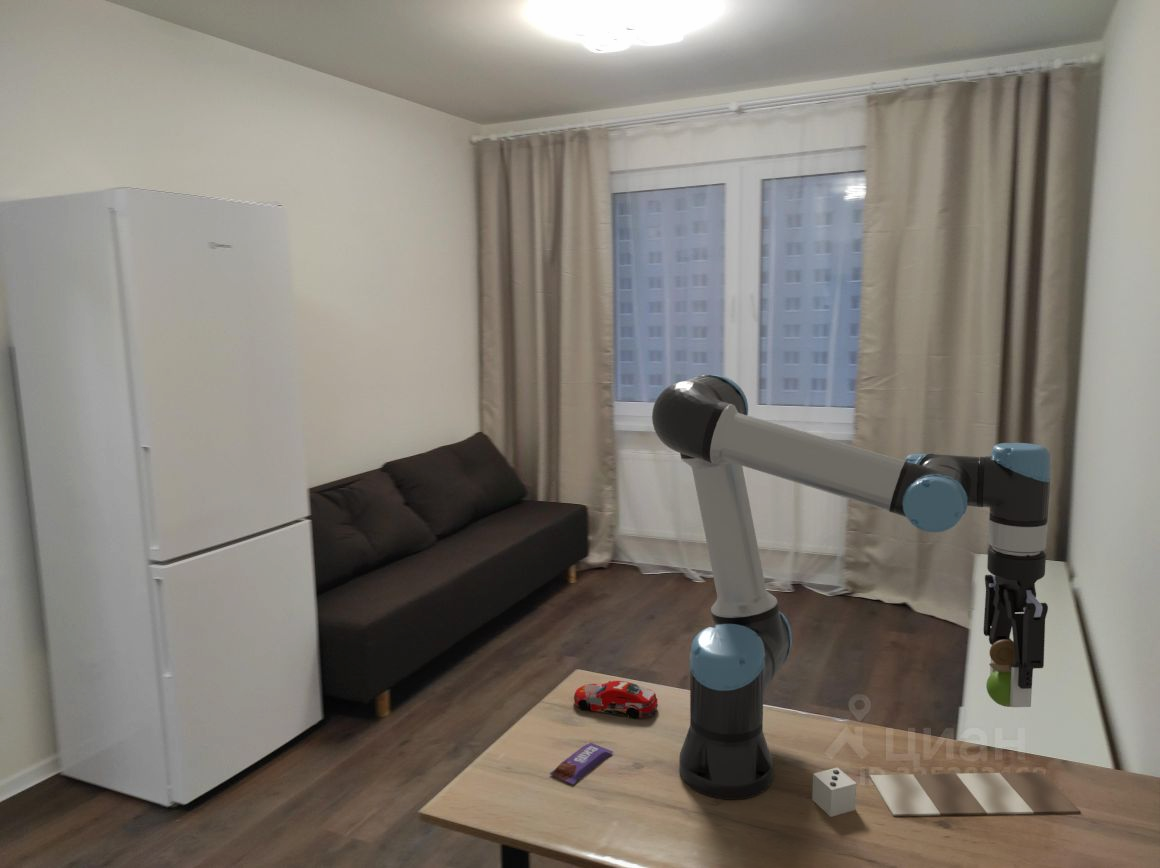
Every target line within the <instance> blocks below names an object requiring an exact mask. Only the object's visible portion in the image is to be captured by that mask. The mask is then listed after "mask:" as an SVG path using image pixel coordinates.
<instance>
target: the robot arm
mask: <svg viewBox="0 0 1160 868" xmlns="http://www.w3.org/2000/svg"><path fill="white" fill-rule="evenodd" d="M651 414H652V415H651V416H652V417H651V419H652V420H651V421H652V426H653V429H654V430H653V431H655V434H656V436H657V437H658V438H659V440H660V441H661V443H663V444H664V445H665V446H666V447H667V448H669V449H671V450H672V451H674V452H676V453H679V454H680V458H681V461H682V462H683V463H685V464H687V465H689V466H690V467H691V469H692V470H691V471H692V475H693V481H694V485H695V490H696V496H697V501H698V505H699V510H700V515H701V520H702V527H703V530H704V536H705V541H706V546H707V552H708V556H709V562H710V566H711V572H712V576H713V581H714V587H715V592H716V601H715V602H714V603H713V605H712V606H711V608H710V611H711V617H712V621H713V622H712V623H713V627H711V626H707V627H706V628H704V629H703V630H700V631H699V633H697V635H695V636H694V638H693V640H692V642H691V645H690V646H691V648H690V653H689V659H688V662H689V668H690V669H689V685H690V686H689V690H690V691H689V692H690V693H689V694H690V695H689V698H690V699H689V703H690V704H689V710H690V711H689V712H690V713H689V714H690V715H689V717H690V719H689V720H690V722H689V728H688V730H687V734H686V736H685V738H684V742H683V745H682V747H681V750H680V752H679V763H678V766H679V767H678V768H679V774H680V777H681V778H682V779H683V781H684V783H686V784H687V785H688V786H689V787H691V788H692V789H694V790H696V792H699V793H701V794H703V795H706V796H710V797H714V798H716V799H725V800H742V799H749V798H752V797H755V796H758V795H760V794H762V793H763V792H765V791H766V790H767V789H768V788H769V787H770V786H771V784H772V783H773V778H774V777H773V776H774V775H773V774H774V773H773V772H774V763H773V758H772V756H771V753H770V749H769V747H768V743H767V741H766V738H765V734H764V731H763V730H764V729H763V728H764V727H763V726H764V725H763V722H764V696H765V692H766V690H767V688H768V686H769V685H770V684H771V681H772V680H774V678H775V676H776V674H778V672H779V671H780V669H781V668H782V667H783V665H784V664H785V662H786V661H787V659H788V657H789V655H790V652H791V651H790V650H791V647H792V642H793V636H792V634H793V633H792V629H791V626H790V623H789V621H788V619H787V617H786V616H785V614H783V613H782V612H780V608H779V603H778V599H777V597H776V596H774V595H773V594H771V593H770V592H769V591H768V590H767V587H766V581H765V576H764V572H763V567H762V561H761V556H760V552H759V546H758V541H757V536H756V535H757V534H756V529H755V524H754V520H753V519H754V518H753V514H752V509H751V505H750V504H751V503H750V499H749V493H748V489H747V485H746V478H745V472H744V469H743V468H744V467H746V468H747V469H752V470H755V471H759V472H761V473H765V474H768V475H771V476H775V477H778V478H781V479H785V480H788V481H790V482H793V483H797V484H800V485H802V486H806V487H809V488H812V489H816V490H819V491H823V492H826V493H829V494H832V495H834V496H838V497H841V498H845V499H849V500H852V501H854V502H858V503H861V504H864V505H866V506H870V507H873V508H876V509H881V510H882V511H883V510H884V511H886V512H890V513H893V514H896V515H899V516H902V517H905V518H906V519H907V520H908V521H909V522H910V523H911V525H913V526H914V527H916V528H917V529H919V530H921V531H923V532H926V533H934V534H937V533H943V532H946V531H948V530H950V529H952V528H953V527H954V526H956V525H957V524H958V523H959V522H960V520H961V518H962V517H963V516H964V514H966V511H967V509H968V507H973V508H974V507H975V508H976V507H978V508H989V518H988V535H987V536H988V537H987V543H988V544H989V547H988V549H987V564H986V565H987V566H986V567H987V571H988V572H989V573H990V574H985V575H984V584H985V599H984V614H983V615H984V616H983V617H984V618H983V635H984V636H985V637H988V642H989V644H990V645H991V646H992V645H993V644H994V643H995V642H996V641H999V640H1003V639H1007V640H1011V641H1014V652H1015V662H1014V663H1010V664H1011V666H1012V668H1011V689H1010V706H1012V707H1011V708H1030V707H1032V694H1033V693H1032V692H1033V691H1032V690H1033V675H1034V674H1033V673H1034V669H1043V668H1044V664H1045V663H1044V662H1045V641H1046V640H1045V637H1046V635H1045V634H1046V618H1047V614H1048V611H1049V606H1048V604H1047V602H1039V601H1038V599H1037V592H1036V584H1035V583H1036V582H1037V581H1040V580H1042V578H1044V577H1045V575H1046V564H1047V563H1046V561H1047V560H1046V559H1047V558H1046V557H1047V554H1046V553H1045V550H1046V548H1047V533H1048V532H1049V527H1048V520H1049V519H1048V517H1049V504H1050V502H1049V501H1050V490H1051V489H1050V488H1051V487H1050V486H1051V454H1050V451H1048V449H1047V448H1045V447H1044V446H1043V445H1039V444H1035V443H1026V442H1002V443H997V444H995V445H994V446H993V447H992V449H991V450H992V451H991V453H990V456H989V455H988V456H970V455H969V456H966V455H954V454H953V455H952V454H951V455H950V454H935V453H932V452H930V453H929V452H927V453H911V454H908V455H907V456H906V458H905V460H903V459H900V458H897V457H893V456H890V455H886V454H882V453H879V452H875V451H872V450H868V449H866V448H863V447H858V446H854V445H852V444H847V443H844V442H841V441H837V440H834V439H831V438H828V437H827V438H826V437H823V436H819V435H817V434H813V433H810V432H806V431H803V430H798V429H795V428H793V427H789V426H784V425H782V424H778V423H774V422H771V421H768V420H764V419H761V418H757V417H755V416H750V415H748V414H749V404H748V399H747V397H746V395H745V392H744V391H743V389H742V388H741V387H740V386H739V384H737V383H736V382H735V381H733V380H732V379H730V378H728V377H727V376H723V375H719V374H707V375H705V374H704V375H703V374H702V375H700V376H695V377H692V378H689V379H686V380H683V381H679V382H676V383H675V382H674V383H673V384H671V385H669V386H668V387H666V388H665V389H663V391H661V393H660V394H659V395H658V397H657V398H656V400H655V402H654V404H653V408H652V413H651ZM1011 632H1012V639H1013V640H1012V639H1011V638H1010V636H1011ZM990 663H994V664H996V663H995V662H994V661H993V660H992V659H991V658H990ZM989 666H990V665H989ZM989 670H990V672H989V676H990V675H991V674H992V673H993V672H995V670H994V669H993V668H992V667H991V666H990V669H989Z"/></svg>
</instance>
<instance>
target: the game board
mask: <svg viewBox="0 0 1160 868" xmlns="http://www.w3.org/2000/svg"><path fill="white" fill-rule="evenodd" d="M869 779H870V780H871V782H872V784H873V785H874V787H875V788H876V790H877V791H878V793H879V795H880V796H881V798H882V799H883V802H884V803H885V805H886V807H887V808H888V809H889V811H890V813H891V814H892V816H893V817H912V816H913V817H914V816H916V817H919V816H969V815H975V816H977V815H1018V814H1019V815H1024V814H1025V815H1028V814H1029V815H1030V814H1031V815H1033V814H1035V815H1036V814H1041V815H1042V814H1043V815H1044V814H1080V813H1081V810H1080V809H1079V807H1077V805H1076V804H1075V803H1073V802H1072V800H1070V799H1069V798H1068V796H1066V794H1064V792H1062V790H1061V789H1059V788H1058V786H1057V785H1056V784H1055V783H1053V782H1054V781H1052V780H1051V779H1050V778H1049V777H1048V776H1047V775H1046V774H1045V773H1044V772H1043V771H1041V772H1039V771H1036V772H1033V771H1032V772H977V773H976V772H974V773H973V772H971V773H920V774H919V773H917V774H916V773H913V774H905V773H904V774H869Z"/></svg>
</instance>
